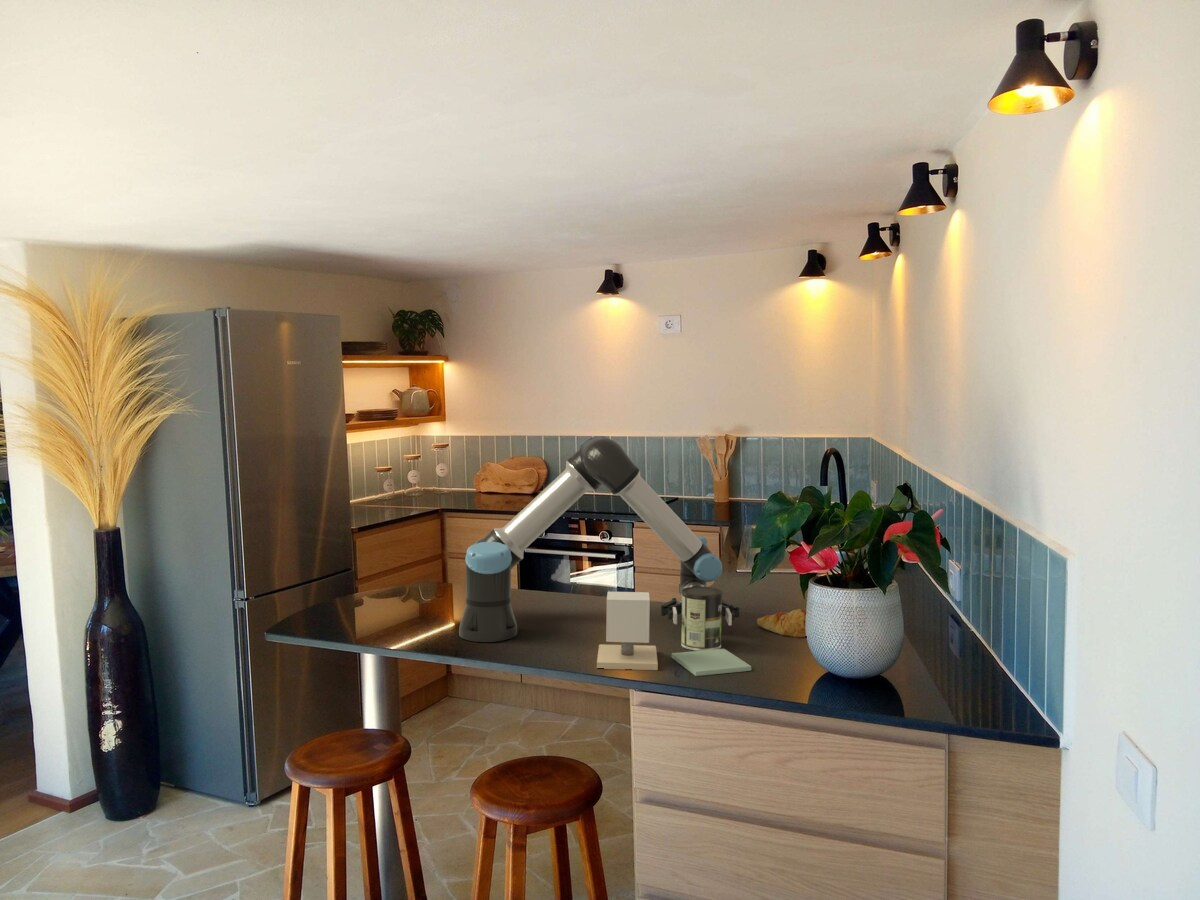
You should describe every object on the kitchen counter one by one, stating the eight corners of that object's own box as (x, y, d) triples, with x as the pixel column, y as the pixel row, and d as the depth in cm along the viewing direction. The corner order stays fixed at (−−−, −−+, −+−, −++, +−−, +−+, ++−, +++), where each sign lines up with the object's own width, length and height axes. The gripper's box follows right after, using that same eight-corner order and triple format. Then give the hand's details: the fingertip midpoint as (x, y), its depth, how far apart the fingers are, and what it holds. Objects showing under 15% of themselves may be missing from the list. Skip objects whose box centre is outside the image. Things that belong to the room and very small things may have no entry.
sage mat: (695, 676, 187) (695, 671, 187) (671, 657, 200) (671, 653, 200) (751, 670, 191) (751, 666, 191) (724, 652, 204) (724, 648, 204)
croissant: (753, 642, 225) (749, 620, 222) (763, 617, 233) (759, 595, 229) (832, 652, 215) (829, 629, 212) (839, 626, 223) (837, 603, 219)
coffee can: (718, 639, 215) (719, 586, 214) (723, 652, 205) (725, 595, 204) (678, 639, 215) (679, 585, 214) (682, 651, 205) (683, 595, 204)
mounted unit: (596, 668, 191) (597, 602, 190) (599, 650, 205) (599, 588, 204) (657, 670, 190) (658, 603, 189) (655, 651, 204) (656, 589, 203)
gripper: (741, 613, 228) (752, 635, 207) (650, 611, 229) (652, 633, 207) (741, 586, 227) (753, 605, 206) (650, 584, 228) (653, 603, 207)
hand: (702, 619), depth 207 cm, fingers open, 13 cm apart
